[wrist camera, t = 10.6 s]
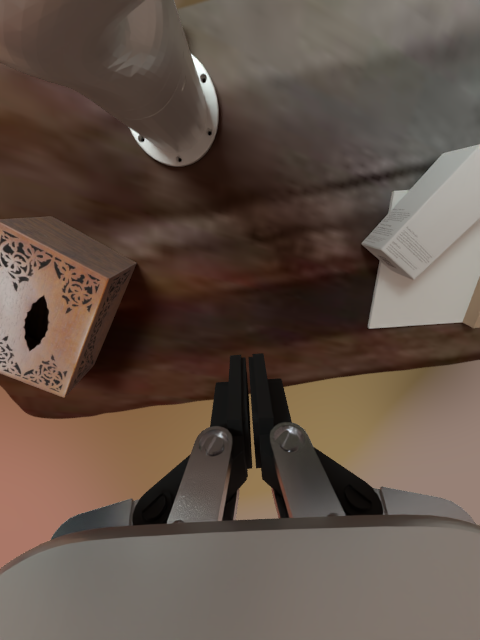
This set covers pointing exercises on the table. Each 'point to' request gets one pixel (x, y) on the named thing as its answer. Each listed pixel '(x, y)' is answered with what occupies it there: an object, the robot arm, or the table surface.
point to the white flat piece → (431, 287)
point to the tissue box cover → (55, 301)
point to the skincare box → (430, 214)
